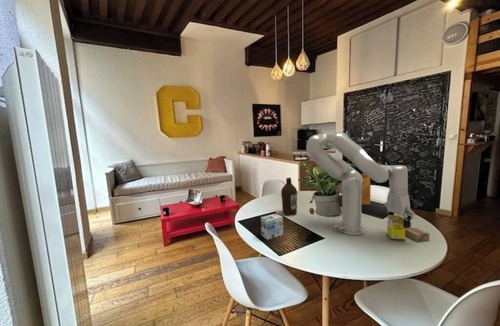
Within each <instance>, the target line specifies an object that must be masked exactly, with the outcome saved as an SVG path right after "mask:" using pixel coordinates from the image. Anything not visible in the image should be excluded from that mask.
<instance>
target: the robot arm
mask: <svg viewBox="0 0 500 326" xmlns="http://www.w3.org/2000/svg"><path fill="white" fill-rule="evenodd" d="M325 148H326V149H330V148H331V149H332V148H334V149H335V150H337V151H338V152H339V153H340V154H342V155H343V156H344V157H345V158H347V159H348V160H350V161H351V163H352V164H353V165H355V167H357V169H359V170H360V171H361V172H362V173H363V174H364V175H365V174H366V175H367V176H368V177H370V180H372V181H374V182H376V183H379V184H380V183H385V182H387V180H388V181H389V183H388V184H389V186H388V189H389V191H388V193H387V198H386V202H384V206H385V210H386V213H387V216H388V215H400V216H402V217H403V218H404V219H405V220H403V227H404V228H409V227H410V222H411V220H413V219H414V216H416V213H415V212H414V211H413V210H412V209H411V203H410V196H409V192H408V191H409V189H408V188H409V186H408V185H409V183H408V182H409V179H408V178H409V177H408V173H409V170H408V169H409V168H408V167H407V166H406V165H400V164H399V165H398V164H397V165H395V164H394V165H386V164H379V163H378V162H376V160H374V159H372V158H371V157H370V155H368V152H367V151H366V150H365V149H364V148H363V147H361V145H359V144H357V142H355V141H354V140H352V139H351V138H350V137H349V135H348V134H347V133H345V132H341V131H340V132H331V133H330V132H329V133H318V134H314V135H312V136H310V137H309V138H308V139H307V142H306V151H307V154H308V157H309V158H310V159H311V161H313V162H314V163H315V164H317V165H318V166H319V167H320V168H321V169H322V170H323V171H324V172H326V173H327V174H328V175H329V176H330V177H332V178H334V179H340V180H341V181H342V182H341V195H342V196H341V198H342V199H341V200H342V201H341V202H342V203H341V204H342V205H341V206H342V211H341V213H342V215H341V218H342V219H341V221H340V223H339V224H333V228H334V229H338V230H339V231H340V232H341V233H343V234H346V235H349V236H361V235H364V233H365V229H364V227H363V226H362V205H361V190H362V183H363V178H362V176H361V175H362V174H361V173H360V172H359V171H357V170H356V169H355V168H353V166H351V165H350V164H349V163H347V162H346V161H345V160H343V159H340V158H338V159H336V158H335V157H333V156H332V155H331V154H330V153H328V152H327V151H325V150H324V149H325Z"/></svg>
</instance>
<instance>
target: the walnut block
mask: <svg viewBox="0 0 500 326" xmlns="http://www.w3.org/2000/svg"><path fill="white" fill-rule="evenodd" d="M430 236H431V235H430V232H428V231H426V230H423V229H421V228H419V227H411V228H409V229H405V238H408V239H409V240H411V241H413V242H415V243H422V242H430Z"/></svg>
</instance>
